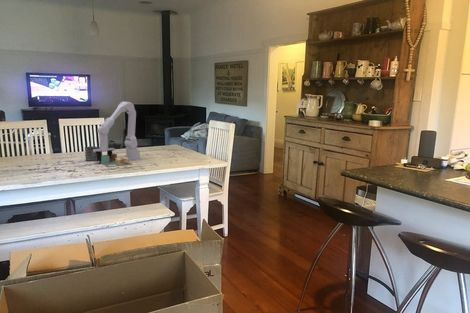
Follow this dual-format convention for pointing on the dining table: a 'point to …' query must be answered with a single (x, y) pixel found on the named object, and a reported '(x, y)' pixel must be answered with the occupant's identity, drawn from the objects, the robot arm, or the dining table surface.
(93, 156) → the small box
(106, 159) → the teal block
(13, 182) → the dining table surface
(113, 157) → the walnut block
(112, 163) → the placemat
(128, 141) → the robot arm
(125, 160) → the oak block
